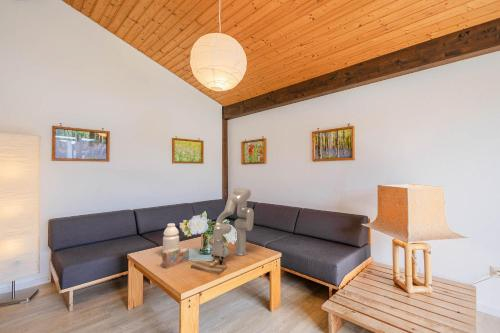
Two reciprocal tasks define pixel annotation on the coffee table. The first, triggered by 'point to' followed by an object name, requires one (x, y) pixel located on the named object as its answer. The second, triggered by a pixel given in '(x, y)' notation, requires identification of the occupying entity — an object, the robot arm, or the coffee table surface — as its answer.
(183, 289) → the coffee table surface
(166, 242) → the bottle
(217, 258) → the gauge
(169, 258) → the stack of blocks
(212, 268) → the board
